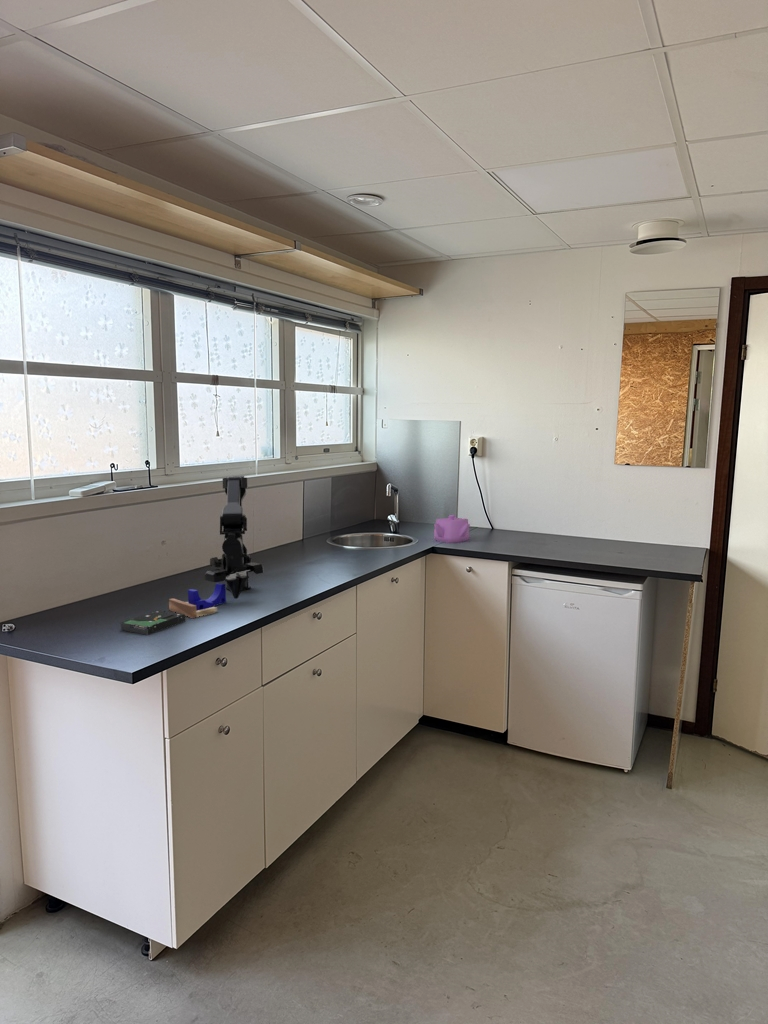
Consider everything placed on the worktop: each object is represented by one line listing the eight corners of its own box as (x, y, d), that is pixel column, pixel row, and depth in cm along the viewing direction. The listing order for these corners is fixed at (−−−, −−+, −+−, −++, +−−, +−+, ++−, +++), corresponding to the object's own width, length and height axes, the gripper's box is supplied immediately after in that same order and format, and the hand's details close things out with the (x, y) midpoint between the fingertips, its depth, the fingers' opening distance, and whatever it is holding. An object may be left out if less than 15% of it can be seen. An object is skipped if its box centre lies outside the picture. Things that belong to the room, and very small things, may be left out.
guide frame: (193, 604, 219) (193, 594, 219) (217, 612, 211) (216, 601, 210) (169, 610, 213) (168, 599, 213) (192, 618, 205) (191, 606, 204)
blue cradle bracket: (197, 611, 212) (196, 592, 211) (188, 609, 215) (187, 590, 214) (229, 603, 221) (228, 584, 220) (219, 601, 224) (219, 582, 223)
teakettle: (468, 537, 343) (468, 512, 342) (470, 543, 326) (470, 517, 325) (433, 537, 344) (433, 512, 343) (433, 543, 327) (433, 517, 326)
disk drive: (159, 618, 207) (120, 631, 194) (158, 609, 206) (119, 621, 193) (186, 623, 202) (148, 636, 189) (185, 613, 202) (147, 626, 189)
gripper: (243, 543, 233) (244, 589, 235) (194, 551, 220) (196, 599, 222) (263, 547, 226) (265, 594, 228) (214, 556, 212) (216, 605, 214)
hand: (235, 598), depth 223 cm, fingers closed
